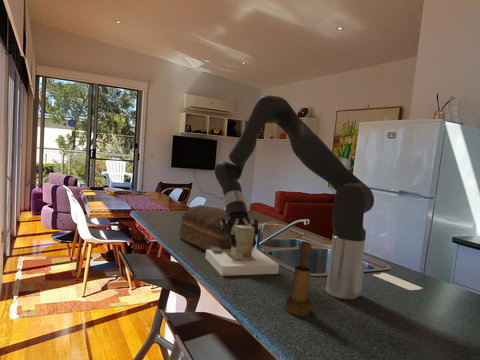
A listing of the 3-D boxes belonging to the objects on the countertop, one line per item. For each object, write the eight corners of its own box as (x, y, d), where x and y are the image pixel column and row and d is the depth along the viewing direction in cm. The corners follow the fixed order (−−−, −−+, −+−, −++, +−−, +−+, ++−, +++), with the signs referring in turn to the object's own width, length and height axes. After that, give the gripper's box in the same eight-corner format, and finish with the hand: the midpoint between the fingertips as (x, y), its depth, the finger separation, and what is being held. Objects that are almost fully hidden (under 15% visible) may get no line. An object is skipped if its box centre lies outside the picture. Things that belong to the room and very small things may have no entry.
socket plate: (255, 256, 137) (257, 246, 137) (278, 273, 121) (279, 262, 120) (205, 257, 130) (206, 246, 129) (221, 275, 113) (222, 263, 113)
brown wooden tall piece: (310, 318, 90) (318, 247, 88) (284, 313, 91) (292, 243, 90) (310, 307, 96) (318, 241, 95) (286, 302, 97) (293, 237, 96)
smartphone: (425, 290, 121) (383, 273, 134) (425, 288, 121) (383, 272, 134) (412, 293, 117) (370, 275, 130) (412, 291, 117) (370, 274, 130)
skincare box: (235, 263, 122) (238, 227, 121) (229, 259, 126) (233, 224, 125) (251, 262, 125) (255, 227, 124) (245, 258, 129) (249, 224, 128)
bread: (203, 235, 164) (207, 200, 162) (250, 255, 139) (254, 214, 138) (175, 237, 154) (178, 200, 153) (219, 259, 130) (224, 216, 129)
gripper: (220, 199, 128) (227, 241, 118) (257, 200, 133) (267, 241, 123) (213, 210, 133) (221, 251, 123) (249, 212, 138) (259, 251, 129)
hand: (244, 246), depth 123 cm, fingers closed on skincare box, 6 cm apart
